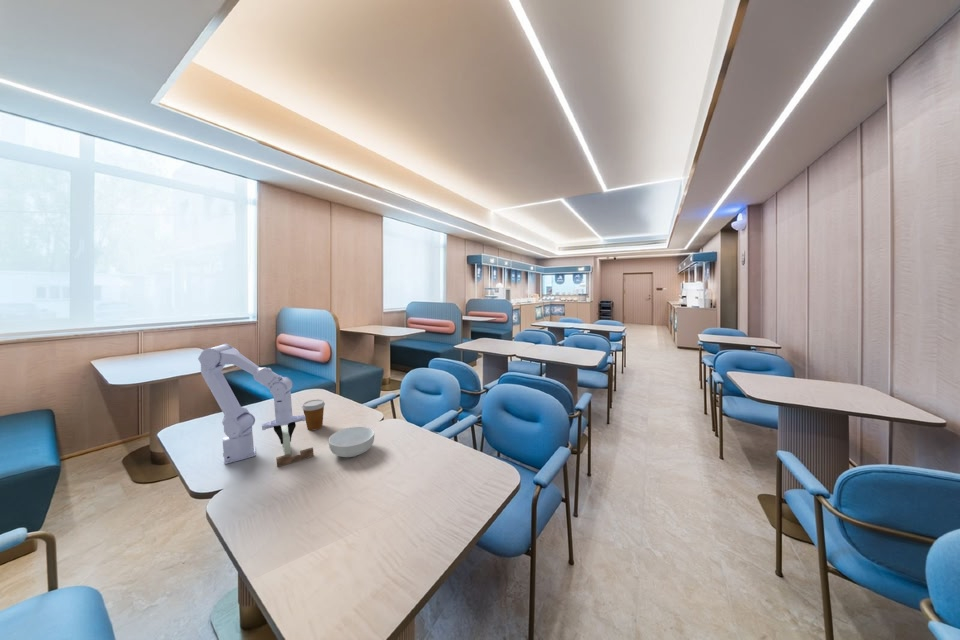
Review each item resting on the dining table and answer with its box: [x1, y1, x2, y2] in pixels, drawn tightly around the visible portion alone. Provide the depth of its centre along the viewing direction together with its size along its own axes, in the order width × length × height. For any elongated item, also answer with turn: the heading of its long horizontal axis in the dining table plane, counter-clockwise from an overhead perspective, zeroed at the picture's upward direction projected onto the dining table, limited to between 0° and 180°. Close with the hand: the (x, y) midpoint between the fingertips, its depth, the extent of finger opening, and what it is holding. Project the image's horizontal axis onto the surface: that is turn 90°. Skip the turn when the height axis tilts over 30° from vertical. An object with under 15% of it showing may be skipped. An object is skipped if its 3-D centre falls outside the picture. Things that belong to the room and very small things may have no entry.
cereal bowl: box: [328, 426, 375, 458], centre depth 124 cm, size 17×17×7 cm
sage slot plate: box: [281, 425, 292, 455], centre depth 125 cm, size 12×2×7 cm, turn 37°
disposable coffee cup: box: [301, 398, 326, 431], centre depth 146 cm, size 10×10×12 cm
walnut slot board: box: [275, 447, 315, 468], centre depth 119 cm, size 12×2×3 cm, turn 127°
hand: (285, 442), depth 125 cm, fingers closed on sage slot plate, 2 cm apart
